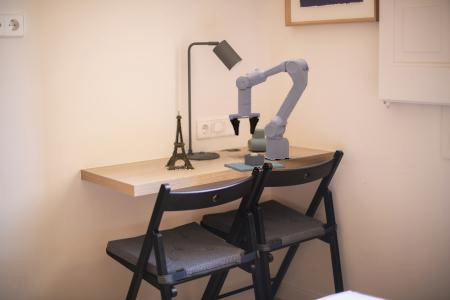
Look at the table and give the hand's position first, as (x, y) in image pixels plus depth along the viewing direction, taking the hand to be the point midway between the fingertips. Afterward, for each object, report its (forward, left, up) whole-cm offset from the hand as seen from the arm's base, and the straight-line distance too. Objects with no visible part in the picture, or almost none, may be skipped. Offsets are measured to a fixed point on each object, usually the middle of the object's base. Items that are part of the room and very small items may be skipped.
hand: (244, 134), depth 294 cm
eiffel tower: (+36, +11, -10) cm, 39 cm away
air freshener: (-13, -10, -10) cm, 19 cm away
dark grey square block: (+9, +24, -9) cm, 27 cm away
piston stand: (+9, +24, -9) cm, 27 cm away
